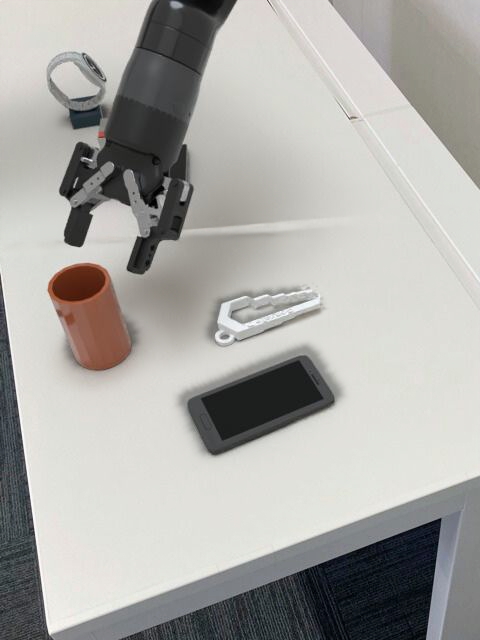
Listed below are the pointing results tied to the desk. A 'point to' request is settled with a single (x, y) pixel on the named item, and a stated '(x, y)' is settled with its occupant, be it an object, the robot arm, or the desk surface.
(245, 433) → the cell phone
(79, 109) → the watch
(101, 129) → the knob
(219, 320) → the white stepped wedge frame
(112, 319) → the tumbler
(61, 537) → the desk surface
